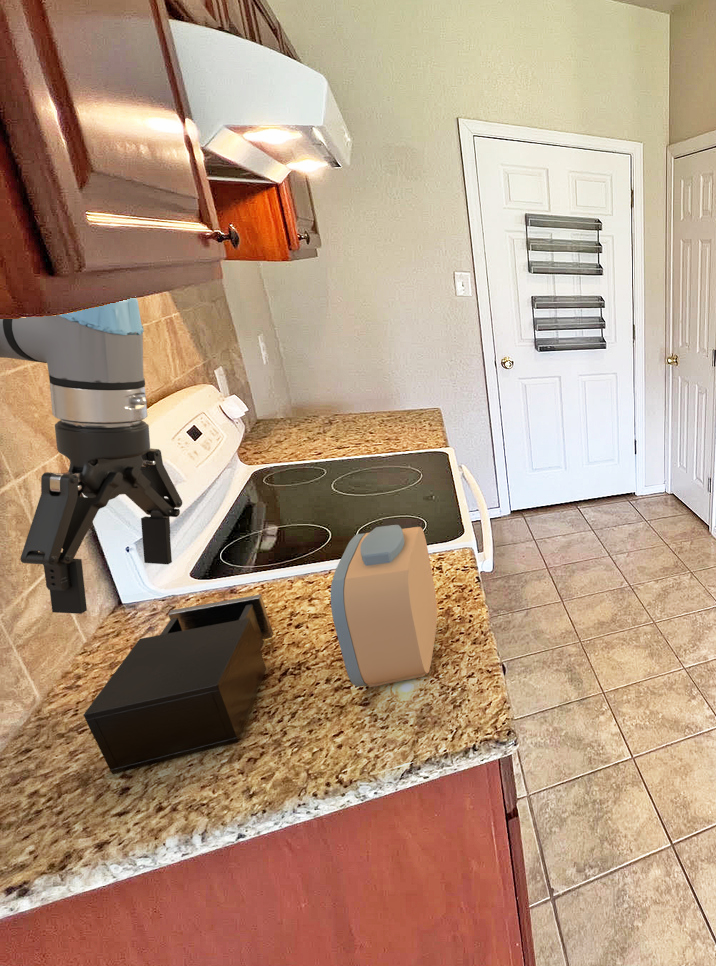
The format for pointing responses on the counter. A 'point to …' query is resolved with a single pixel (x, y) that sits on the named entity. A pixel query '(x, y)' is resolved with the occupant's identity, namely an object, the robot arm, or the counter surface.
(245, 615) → the drawer
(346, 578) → the alarm clock
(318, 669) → the counter surface
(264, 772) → the counter surface
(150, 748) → the cabinet
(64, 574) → the robot arm
